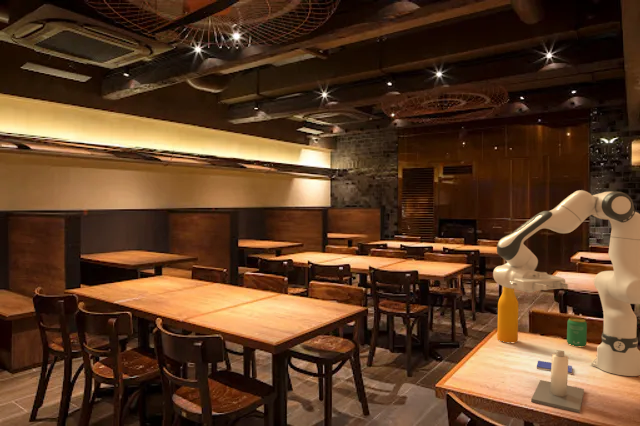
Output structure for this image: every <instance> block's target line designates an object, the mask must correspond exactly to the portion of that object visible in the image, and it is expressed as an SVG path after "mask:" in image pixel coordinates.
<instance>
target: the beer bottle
mask: <svg viewBox="0 0 640 426" xmlns="http://www.w3.org/2000/svg"><path fill="white" fill-rule="evenodd" d="M519 307H520V306H519V300H518V299H517V296H516V294H515V289H511V288H507V287H504V286H502V293H501V295H500V297H499V299H498V303H497V330H496V331H497V333H496V334H497V335H496V338H497V340H498V341H499V340H500V341H504V342H516V343H518V338H519V335H518V334H519ZM500 341H499V342H500ZM504 342H503V343H504Z"/></svg>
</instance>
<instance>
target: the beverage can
mask: <svg viewBox="0 0 640 426" xmlns="http://www.w3.org/2000/svg"><path fill="white" fill-rule="evenodd" d="M566 323H567V327H566V328H567V329H566V343H567V345H569V344H571V345H574V346H585V347H586V345H587V338H588V337H587V334H588V333H587V331H588V323H587V321H586V319H583V318H581V317H569V318H568V320H567V322H566ZM571 345H570V346H571ZM574 346H573V347H574Z"/></svg>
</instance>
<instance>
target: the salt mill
mask: <svg viewBox="0 0 640 426" xmlns="http://www.w3.org/2000/svg"><path fill="white" fill-rule="evenodd" d="M551 363H552V365H551V371H550V382H551V387H550V393H551V394H553V395H556V396H560V397H565V396H567V385H568V377H569V376H568V375H569V374H568V365H569V356H568V355H565V351H564V350H560V349H559V350H557V349H556V352H555V353H552V354H551Z"/></svg>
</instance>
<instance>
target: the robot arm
mask: <svg viewBox="0 0 640 426" xmlns="http://www.w3.org/2000/svg"><path fill="white" fill-rule="evenodd" d="M588 217H592V218H594V219H598V220H599V219H600V220H606V221H607V220H608V221H609V223H610V226H611V232H610V238H609V248H608V259H609V260H610V261H611V265H612V268H613V270H604V271H600V272H598V273H597V274H596V275H595V277H594V280H593V286H594V288H595V289H596V290H597V293H598V296H599V298H600V299H599V300H600V303H601V307H602V311H603V312H602V314H603V327H602V328H603V331H602V333H601V343H600V344H598V345H597V347H596V358H595V359H594V360H592V361H591V363H590V365H591V366H593V367H596V368H597V369H600V370H602V371H603V372H606V373H610V374H613V375H618V376H625V377H627V376H628V377H637V376H640V350H639V348H638V346H639V345H638V343H639V341H638V337H637V329H638V327H637V325H638V321H637V315H636V314H635V311H633V309H632V305H640V213H639V212H637V211H636V209H635V206H634V202H633V199H632V198H631V196H629V195H628V194H627V193H625V192H622V191H603V192H598V193H593V194H592V193H590V192H588V191H586V190H584V189H581V190H580V189H579V190H576V191H574V192H573V193H571V194H570V195H568V196H567V197H566V198H564V199H563V200H562V201H561V202H560V203H559V204H557V205H556V206H555V207H554V208H553V209H551V210H543V211H541V212H539V213H537V214H535V215H534V216H532V217H531V218H530V219H528V220H527V221H526V222H524V223H523V224H521V225H520V226H519V227H517V228H516V229H515V230H513V231H512V232H511V233H509V234H507V235H505V236H503V237H501V238H500V239H499V240H498V242H497V245H496V253H497V255H498V256H499V257H501V258H502V259H503V260H505V261H506V263H504V264H502V265H498V266H496V267H495V268H494V269H493V272H492V277H493V279H494V281H495V283H496V284H497V285H498V286H502V287H503V286H504V287H507V288H511V289H514V290H517V291H520V292H524V293H527V294H528V293H529V294H531V293H535V292H537V291H549V290H557V289H559V290H560V289H563V290H568V289H569V284H568V283H566V279H565V278H563V277H561V276H558V275H557V276H556V275H552V274H548V273H547V271H546V272H545V271H536V270H537V267H538V264H539V259H538V257H537V256H536V255H535V254H534V252H532V250H531V249H529V248H528V247H527V246H526V245H525V244H524V243H525V241H527V239H529V238H530V237H532V236H533V235H534V234H536V233H537V232H538V231H540V230H542V229H547V230H551V231H553V232H556V233H558V234H569V233H571V232H573V231H574V230H576V229H577V228H578V227H579V226H580V225H581V224H582V223H584V221H585V220H586V219H587V218H588Z"/></svg>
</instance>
